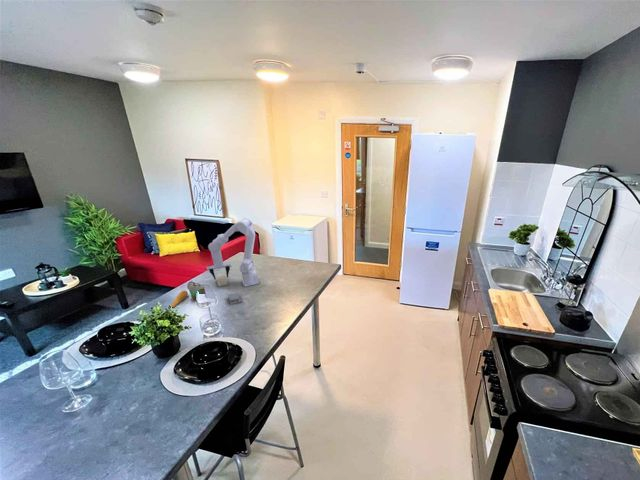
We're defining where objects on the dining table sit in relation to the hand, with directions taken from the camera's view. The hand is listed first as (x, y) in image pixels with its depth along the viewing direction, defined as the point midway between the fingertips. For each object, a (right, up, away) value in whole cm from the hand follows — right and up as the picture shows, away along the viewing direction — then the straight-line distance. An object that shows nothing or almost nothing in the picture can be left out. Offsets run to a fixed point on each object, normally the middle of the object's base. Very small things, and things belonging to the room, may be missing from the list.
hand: (221, 278), depth 195 cm
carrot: (-14, -15, -24) cm, 32 cm away
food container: (-5, -13, -19) cm, 24 cm away
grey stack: (+18, -13, -19) cm, 30 cm away
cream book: (0, -1, 0) cm, 1 cm away
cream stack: (0, -3, +2) cm, 4 cm away
